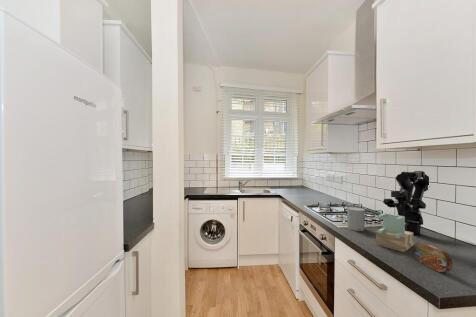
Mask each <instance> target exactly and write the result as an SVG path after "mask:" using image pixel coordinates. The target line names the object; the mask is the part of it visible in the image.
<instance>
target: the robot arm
mask: <svg viewBox="0 0 476 317" xmlns="http://www.w3.org/2000/svg"><path fill="white" fill-rule="evenodd" d="M429 177H430V176H428V175H427V173H425V171H423V170H414V171H401V173H399V174H397V175H396V176H395V180H396V182H397V184H398V185H399V190H391V191H390V197H391V198H384V199H383V201H382V203H383V204H384V205H386V206H387V207H388V208H396V210H397V215H399V216H404V217H405V231H409V232H413V233H414V235H415V236H416V235H417V236H422V235H423V234H422V233H421V226H422V225H424V218H423V215H422V214H421V210H425V209H426V208H427V204H426V203H425V202H424V201H423V197H424V194H425V192H427V191H429V189H428V185H429ZM392 198H394V199H392Z"/></svg>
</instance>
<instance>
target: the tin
mask: <svg viewBox="0 0 476 317" xmlns="http://www.w3.org/2000/svg"><path fill="white" fill-rule="evenodd" d="M412 250H413V251H412V252H413V255H414V258H415V259H416V260H417V262H419V263H420V262H421V263H420V264H422V263H423V264H422V265H424V264H425V265H424V266H426V267H428V268H430V269H431V268H432V270H433V269H434V270H433V271H435V270H436V272H437V271H438V273H448V272H450V271H451V270H452V268H453V260H452V258H451V256H450V255H449V253H448V252H446V251H445V250H443V249H440V248H438V247H437V246H433V245H431V244H428V243H426V242H417V243H415V244H413V248H412Z"/></svg>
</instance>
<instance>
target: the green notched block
mask: <svg viewBox="0 0 476 317" xmlns="http://www.w3.org/2000/svg"><path fill="white" fill-rule="evenodd" d="M377 216H378V217H377V218H378V219H382V228H379V229H377V231H378V233H380V234H382V233H384V232H391V233H395V234H396V238H400V237H402V236H404V235H405V217H404V216H399V215H398V214H393V213H388V212H387V213H386V212H381V214H377Z"/></svg>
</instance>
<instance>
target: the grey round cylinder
mask: <svg viewBox="0 0 476 317" xmlns="http://www.w3.org/2000/svg"><path fill="white" fill-rule="evenodd" d="M365 211H366V210H365V208H362V207H358V206H357V207H356V206H349V207H348V206H347V223H346V224H347V229H348V230H352V231H357V232H363V231H365V219H366V217H365V213H366V212H365Z"/></svg>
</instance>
